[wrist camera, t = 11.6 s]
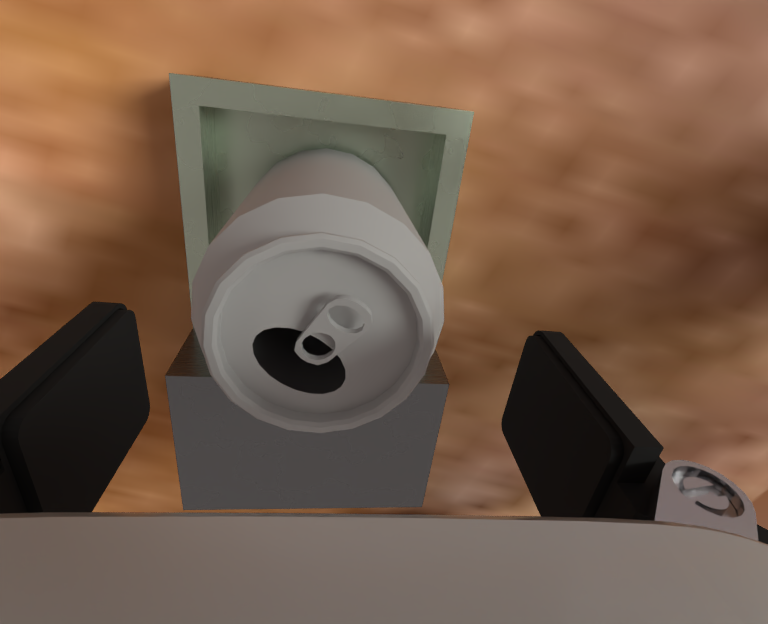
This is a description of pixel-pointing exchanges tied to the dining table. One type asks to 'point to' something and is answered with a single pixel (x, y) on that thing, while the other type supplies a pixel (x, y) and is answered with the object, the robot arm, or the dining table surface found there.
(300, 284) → the can
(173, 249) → the dining table surface
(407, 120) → the frame
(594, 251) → the dining table surface
